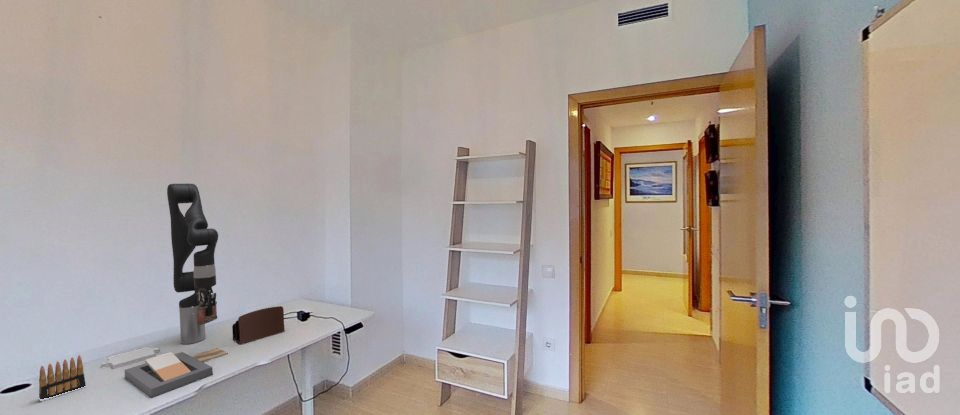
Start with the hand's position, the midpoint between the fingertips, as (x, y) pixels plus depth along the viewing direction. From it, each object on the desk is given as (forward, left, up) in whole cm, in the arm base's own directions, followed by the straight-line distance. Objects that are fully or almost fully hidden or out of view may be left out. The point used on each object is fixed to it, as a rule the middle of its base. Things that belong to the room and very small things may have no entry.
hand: (206, 314), depth 155 cm
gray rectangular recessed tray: (+7, -16, -18) cm, 25 cm away
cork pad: (0, 0, -18) cm, 18 cm away
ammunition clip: (-11, -40, -18) cm, 45 cm away
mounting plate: (-27, -18, -19) cm, 37 cm away
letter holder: (-4, +23, -18) cm, 30 cm away
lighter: (-1, 0, -3) cm, 3 cm away
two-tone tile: (+7, -16, -14) cm, 23 cm away
